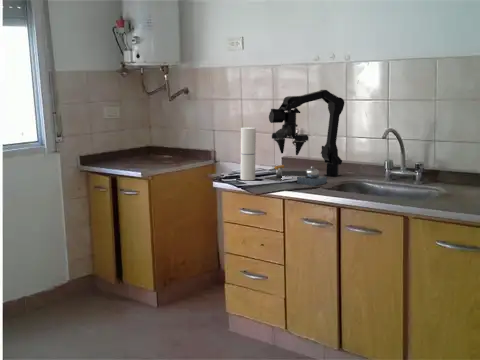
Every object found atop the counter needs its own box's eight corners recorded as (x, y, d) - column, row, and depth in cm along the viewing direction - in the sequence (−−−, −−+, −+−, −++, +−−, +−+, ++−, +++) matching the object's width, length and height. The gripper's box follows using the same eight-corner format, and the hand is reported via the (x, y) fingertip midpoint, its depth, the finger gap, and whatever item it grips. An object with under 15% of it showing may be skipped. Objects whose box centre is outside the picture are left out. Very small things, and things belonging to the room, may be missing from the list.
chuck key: (280, 176, 287) (281, 164, 286) (285, 177, 285) (285, 165, 284) (272, 178, 282) (273, 165, 281) (277, 178, 280) (277, 166, 279)
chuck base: (309, 180, 279) (309, 174, 278) (326, 183, 272) (326, 176, 272) (296, 183, 271) (297, 176, 271) (314, 185, 265) (314, 179, 264)
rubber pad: (277, 176, 291) (277, 175, 291) (293, 178, 284) (293, 177, 284) (264, 178, 283) (264, 177, 283) (280, 181, 277) (280, 180, 277)
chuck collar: (317, 175, 275) (317, 165, 274) (320, 177, 268) (320, 167, 267) (280, 175, 273) (280, 165, 273) (282, 177, 267) (282, 167, 266)
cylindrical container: (238, 179, 280) (238, 128, 275) (243, 177, 286) (244, 127, 282) (252, 180, 277) (252, 128, 273) (257, 178, 284) (257, 127, 279)
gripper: (264, 122, 280) (264, 154, 283) (295, 124, 268) (294, 157, 270) (279, 121, 288) (278, 152, 291) (309, 123, 276) (308, 155, 279)
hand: (289, 154), depth 282 cm, fingers open, 9 cm apart
